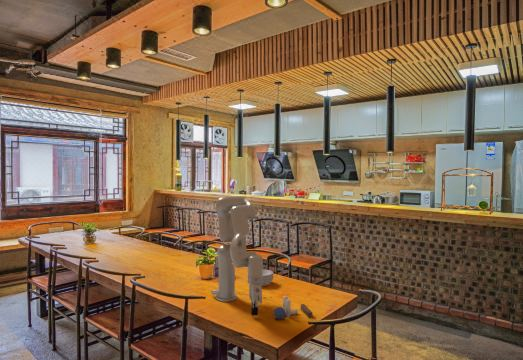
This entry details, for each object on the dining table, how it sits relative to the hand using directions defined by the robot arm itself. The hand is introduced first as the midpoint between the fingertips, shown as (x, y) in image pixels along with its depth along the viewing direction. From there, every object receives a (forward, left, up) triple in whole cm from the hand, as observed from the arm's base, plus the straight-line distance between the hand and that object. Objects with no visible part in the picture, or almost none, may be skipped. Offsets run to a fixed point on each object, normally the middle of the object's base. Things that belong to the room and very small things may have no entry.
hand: (254, 314), depth 180 cm
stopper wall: (+27, +10, -2) cm, 28 cm away
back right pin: (+17, +4, -2) cm, 18 cm away
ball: (+13, 0, +2) cm, 13 cm away
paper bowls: (-2, +54, -2) cm, 54 cm away
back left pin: (+15, +8, -2) cm, 18 cm away
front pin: (+14, +5, 0) cm, 14 cm away
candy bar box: (-35, +70, -2) cm, 78 cm away
